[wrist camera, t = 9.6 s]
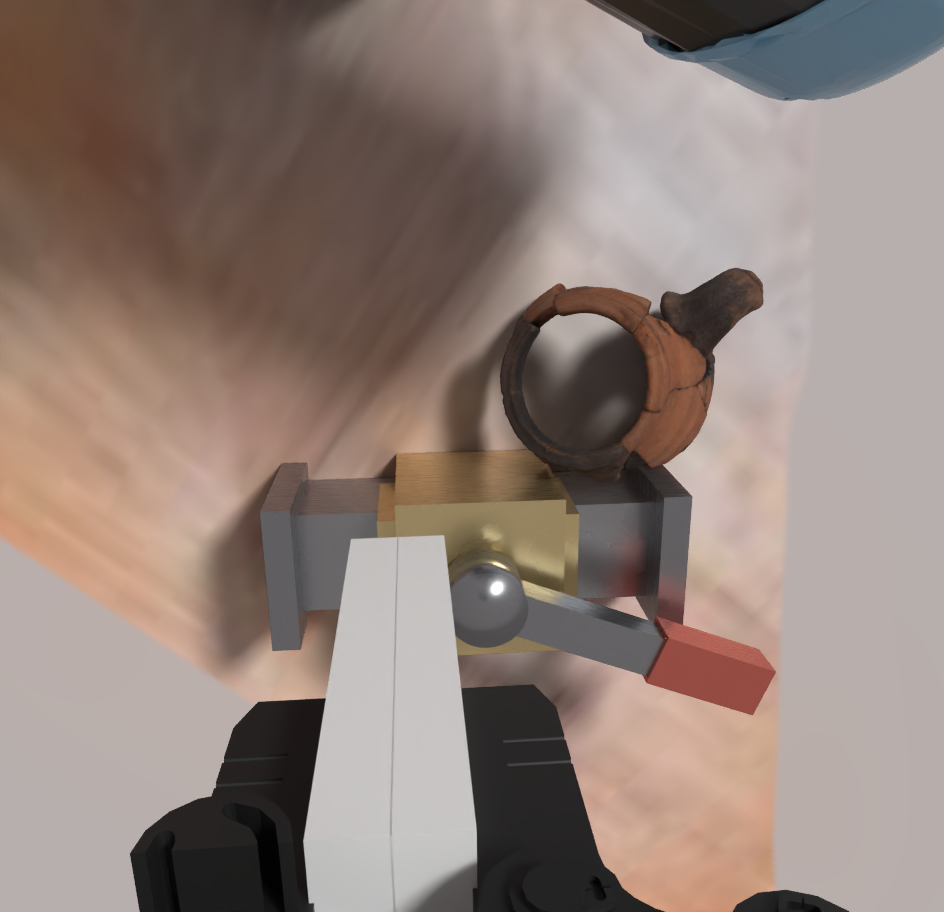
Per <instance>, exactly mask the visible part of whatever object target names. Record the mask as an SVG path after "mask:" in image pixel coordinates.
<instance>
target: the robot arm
mask: <svg viewBox="0 0 944 912" xmlns="http://www.w3.org/2000/svg"><path fill="white" fill-rule="evenodd" d="M585 1H587V2H589V3H591V4H592V5H594V6H596V7H598V8H599V9H601V10H603V11H605V12H606V13H608V14H610V15H612V16H613V17H615V18H617V19H619V20H620V21H622V22H624V23H626V24H628V25H629V26H631V27H633V28H635V29H636V30H638V31H640V32H642V35H643V39H644V42H645V43H646V44H647V45H648V46H650V47H651V48H653V49H654V50H656V51H657V52H659V53H660V54H662V55H664V56H666V57H668V58H671V59H675V60H682V61H687V62H693V63H698V64H700V65H702V66H704V67H706V68H708V69H710V70H712V71H714V72H716V73H718V74H720V75H722V76H724V77H726V78H728V79H730V80H732V81H734V82H736V83H738V84H740V85H742V86H744V87H746V88H748V89H750V90H752V91H754V92H756V93H759V94H761V95H763V96H766V97H769V98H773V99H778V100H783V101H792V100H797V99H805V100H816V99H831V98H837V97H841V96H844V95H847V94H851V93H853V92H857V91H859V90H862V89H865V88H867V87H870V86H872V85H875V84H877V83H879V82H882V81H884V80H886V79H888V78H890V77H893V76H894V75H896V74H898V73H901V72H903V71H904V70H906V69H908V68H910V67H912V66H913V65H915V64H917V63H919V62H921V61H922V60H924V59H926V58H927V57H929V56H930V55H932V54H934V53H935V52H937V51H938V50H940V49H941V48H943V47H944V0H585ZM130 856H131V862H132V868H133V874H134V880H135V886H136V892H137V898H138V904H139V910H140V912H664V911H661V910H658V909H655V908H653V907H651V906H649V905H647V904H646V903H644V902H642V901H640V900H638V899H636V898H634V897H633V896H632V895H631V894H629V893H628V892H627V891H626V890H624V889H623V888H622V886H621V885H620V883H619V881H618V879H617V878H616V876H615V874H613V873H612V872H611V871H610V870H608V869H607V868H606V867H605V866H604V864H603V862H602V860H601V858H600V856H599V853H598V850H597V847H596V843H595V840H594V836H593V833H592V829H591V826H590V822H589V819H588V816H587V812H586V809H585V805H584V802H583V798H582V795H581V791H580V788H579V784H578V781H577V778H576V774H575V771H574V767H573V764H571V757H570V753H569V750H568V747H567V743H566V740H564V733H563V729H562V726H561V722H560V719H559V716H558V712H557V709H556V707H555V706H554V705H553V704H552V703H551V702H550V701H549V700H548V699H547V698H546V697H545V696H544V695H543V694H542V693H541V692H540V691H539V690H538V689H537V688H536V687H535V686H534V685H516V686H497V687H478V688H461V683H460V674H459V665H458V656H457V647H456V638H455V629H454V620H453V611H452V602H451V593H450V584H449V575H448V566H447V557H446V548H445V539H444V535H439V536H414V537H389V538H365V539H351V542H350V549H349V555H348V561H347V568H346V574H345V580H344V587H343V593H342V599H341V606H340V612H339V618H338V625H337V631H336V638H335V644H334V650H333V657H332V663H331V669H330V676H329V682H328V688H327V695H326V698H323V699H305V700H286V701H267V702H258V703H257V704H256V705H255V706H254V707H253V708H252V709H251V710H250V711H249V712H248V713H247V714H246V715H245V716H244V717H243V718H242V719H241V721H240V722H239V723H238V724H237V725H236V726H235V727H234V728H233V731H232V734H231V738H230V741H229V744H228V747H227V750H226V753H225V756H224V763H222V765H221V768H220V772H219V775H218V778H217V781H216V788H214V790H213V793H212V796H211V797H206V798H201V799H197V800H195V801H192V802H190V803H188V804H186V805H184V806H181V807H179V808H177V809H174V810H172V811H170V812H169V813H167V814H166V815H165V816H163V817H162V818H161V819H160V820H158V821H157V822H156V823H154V824H153V825H152V826H151V827H150V828H148V829H147V830H146V831H145V832H144V833H143V835H142V837H141V838H140V839H139V841H138V843H137V844H136V845H135V847H134V849H133V850H132V851H131V853H130ZM733 912H849V911H847V910H845V909H843V908H841V907H839V906H837V905H835V904H832V903H831V902H829V901H826V900H824V899H822V898H820V897H818V896H814V895H809V894H804V893H799V892H794V891H789V890H780V891H771V892H761V893H757V894H755V895H753V896H752V897H750V898H748V899H746V900H744V901H743V902H741V903H739V904H737V905H736V907H735V909H734V910H733Z"/></svg>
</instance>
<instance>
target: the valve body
mask: <svg viewBox="0 0 944 912" xmlns="http://www.w3.org/2000/svg"><path fill="white" fill-rule="evenodd" d="M620 475H621V477H620V478H619V479H618V480H617V481H614V482H602V483H598V482H595V481H593V480H592V479H591V478H588V477H582V476H579V475H577V474H576V473H574V472H552V471H551V469H550V467H549V466H548V464H544V463H543V462H542V461H541V460H540V459H539V458H538V457H536V456H535V454H534V453H533V452H532V451H531V450H506V451H474V452H443V453H411V454H397V455H396V478H366V479H336V480H308V469H307V463H284V464H281V466H280V469H279V471H278V473H277V475H276V477H275V480H274V482H273V484H272V486H271V488H270V491H269V493H268V495H267V497H266V499H265V502H264V504H263V506H262V508H261V510H260V521H261V532H262V542H263V553H264V564H265V575H266V586H267V596H268V607H269V618H270V629H271V640H272V650H273V651H281V650H301V646H302V642H303V638H304V633H305V629H306V624H307V620H308V616H309V611H314V610H337V609H340V606H341V599H342V593H343V587H344V580H345V574H346V568H347V561H348V555H349V549H350V542H351V539H365V538H389V537H414V536H439V535H444V539H445V548H446V557H447V566H448V568H449V566H450V565H451V564H452V563H453V561H454V560H455V559H457V558H458V557H459V556H461V555H462V554H464V553H466V552H468V551H471V550H475V549H492V550H496V551H499V552H501V553H503V554H505V555H506V556H508V557H509V558H510V559H511V560H512V561H513V562H514V564H515V565H516V567H517V569H518V571H519V574H520V578H521V580H523V581H526V582H529V583H532V584H535V585H539V586H542V587H545V588H548V589H551V590H554V591H557V592H561V593H564V594H567V595H570V596H573V597H576V598H579V599H585V598H608V597H631V596H635V597H636V599H637V600H638V602H639V604H640V606H641V607H642V609H643V611H644V613H645V615H646V616H647V618H648V620H649V621H652V622H654V620H655V618H656V617H659V618H662V619H666V620H669V621H672V622H675V623H678V624H681V625H683V615H684V601H685V588H686V575H687V561H688V548H689V534H690V521H691V508H692V496H691V495H690V494H689V493H688V491H687V490H686V489H685V488H684V487H683V486H682V485H681V484H680V483H679V482H678V481H677V480H676V479H675V478H674V477H673V475H672V474H671V473H670V472H669V471H668V470H667V469H666V468H665V467H664V466H663V465H659V466H656V467H654V468H651V467H649V466H648V464H646V463H645V462H644V460H643V459H641V458H640V457H639V456H638V455H637V454H636V452H631V454H630V455H629V457H628V458H627V460H626V469H625V470H621V472H620ZM455 638H456V647H457V655H478V654H498V653H519V652H539V651H560V650H559V649H556V648H553V647H550V646H546V645H543V644H540V643H536V642H533V641H530V640H527V639H523V638H520V637H517V636H516V637H514V638H513V639H512V640H510V641H509V642H507V643H505V644H503V645H500V646H496V647H491V648H480V647H475V646H471V645H469V644H467V643H465V642H463V641H462V640H460V639H459V638H458V637H457V636H456V635H455Z"/></svg>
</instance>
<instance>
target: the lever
mask: <svg viewBox="0 0 944 912" xmlns="http://www.w3.org/2000/svg"><path fill="white" fill-rule="evenodd" d="M448 575H449V584H450V593H451V602H452V611H453V620H454V629H455V635H456V636H457V637H458V638H459V639H460V640H462V641H463V642H465V643H467V644H469V645H471V646H475V647H480V648H491V647H496V646H500V645H503V644H505V643H507V642H509V641H510V640H512V639H513V638H514V637H516V636H517V637H520V638H523V639H527V640H530V641H533V642H536V643H540V644H543V645H546V646H550V647H553V648H556V649H559V650H563V651H566V652H569V653H572V654H576V655H579V656H582V657H586V658H589V659H592V660H595V661H599V662H602V663H605V664H608V665H612V666H615V667H618V668H622V669H625V670H628V671H631V672H635V673H638V674H641V675H643V677H644V679H645V681H646V683H648V684H651V685H655V686H658V687H661V688H664V689H668V690H671V691H674V692H678V693H681V694H684V695H687V696H691V697H694V698H697V699H701V700H704V701H707V702H711V703H714V704H717V705H720V706H724V707H727V708H730V709H734V710H737V711H740V712H743V713H747V714H750V715H753V714H754V712H755V710H756V708H757V706H758V704H759V703H760V701H761V699H762V697H763V695H764V693H765V691H766V690H767V688H768V686H769V684H770V682H771V680H772V678H773V677H774V675H775V673H776V671H775V670H774V669H773V667H772V666H771V665H770V663H769V662H768V661H767V659H766V658H765V657H764V656H763V654H762V653H761V652H760V650H759V649H756V648H753V647H750V646H747V645H744V644H741V643H737V642H734V641H731V640H728V639H725V638H722V637H719V636H716V635H712V634H709V633H706V632H703V631H700V630H697V629H694V628H691V627H687V626H684V625H681V624H678V623H675V622H672V621H669V620H666V619H662V618H659V617H656V618H655V620H654V622H652V621H648V620H645V619H642V618H639V617H636V616H633V615H630V614H626V613H623V612H620V611H617V610H614V609H611V608H608V607H604V606H601V605H598V604H595V603H592V602H589V601H586V600H583V599H579V598H576V597H573V596H570V595H567V594H564V593H561V592H557V591H554V590H551V589H548V588H545V587H542V586H539V585H535V584H532V583H529V582H526V581H523V580H521V578H520V574H519V571H518V569H517V567H516V565H515V564H514V562H513V561H512V560H511V559H510V558H509V557H508V556H506V555H505V554H503V553H501V552H499V551H496V550H492V549H475V550H471V551H468V552H466V553H464V554H462V555H461V556H459V557H458V558H457V559H455V560H454V561H453V563H452V564H451V565H450V566H449V568H448Z"/></svg>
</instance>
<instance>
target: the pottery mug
mask: <svg viewBox="0 0 944 912" xmlns="http://www.w3.org/2000/svg"><path fill="white" fill-rule="evenodd" d="M565 289H566V288H565V286H564V285H563V284H557V285H555V286H554V287H552V288H551V289H549V290H548V291H547V292H545V293H544V294H543V295H541V296H540V297H539V298H538V299H537V300H535V301H534V302H533V303H532V304H531V306H530V307H529V308H528V309H527V311H526V313H525V315H524V316H522V317H521V318H520V319H519V320H518V322H517V324H516V326H515V329H514V332H513V334H512V337H511V339H510V341H509V343H508V346H507V349H506V352H505V355H504V358H503V361H502V366H501V373H500V379H501V380H500V384H501V393H502V395H503V405H504V408H505V414H506V416H507V418H508V420H509V422H510V424H511V426H512V428H513V430H514V432H515V434H516V435H517V437H518V438H519V439H520V440H521V441H522V442H523V444H524V445H525V446H526V447H527V448H528V449H529V450H531V451H532V452H533V453H534V454H535V456H536V457H538V458H539V459H540V460H541V461H542V462H543V463H544V464H547V463H553V464H556V465H558V466H562V467H564V468H566V469H570V470H571V471H573V472H574V473H576V474H577V475H579V476H582V477H588V478H591V479H592V480H593V481H595V482H598V483H602V482H614V481H617V480H618V479H619V478H620V477H621V475H620V472H621V470H622V468H623V465H624V463H625V462H626V460H627V458H628V457H629V455H630V454H631V452H632V451H634V452H636V454H637V455H638V456H639V457H640V458H641V459H643V460H644V462H645V463H646V464H648V466H649V467H651V468H654V467H656V466H659V465H662V464H666V463H667V462H669V461H670V460H671V459H673V458H674V457H675V456H677V455H678V454H679V453H681V452H683V451H684V450H685V449H686V448H687V447H688V446H689V445H690V444H691V443H692V441H693V440H694V439H695V437H696V436H697V434H698V433H699V431H700V429H701V427H702V425H703V423H704V420H705V418H706V416H707V410H708V407H709V404H710V400H711V396H712V390H713V384H714V363H715V357H714V355H713V354H712V352H713V349H714V347H715V346H716V345H717V344H718V343H719V341H720V340H721V339H722V338H723V337H724V336H725V335H726V334H727V333H728V332H729V331H730V330H731V329H732V328H733V327H734V326H735V324H736V323H737V322H738V321H739V320H740V319H741V318H743V317H744V316H746V315H747V314H749V313H750V312H752V311H754V310H756V309H759V308H760V307H761V306H762V305H763V284H762V282H761V281H760V279H759V278H758V277H757V276H756V275H755V274H754V273H753V272H752V271H749V270H744V269H739V268H732V269H729V270H727V271H725V272H722V273H721V274H719V275H717V276H716V277H714V278H713V279H711V280H709V281H708V282H706V283H704V284H702V285H700V286H699V287H697V288H696V289H694V290H692V291H691V292H689V293H686V294H682V295H681V294H678V293H674V292H669V291H668V292H665V293H664V294H663V296H662V298H661V303H660V309H661V314H662V316H663V318H664V319H665V321H666V322H664V321H663V320H661V319H656V318H654V317H652V316H651V315H649V309H650V306H651V301H649V300H648V299H646V298H643V297H640V296H637V295H635V294H631V293H627V292H623V291H621V290H617V289H612V288H601V287H588V286H585V287H576V288H571V289H567V290H565ZM577 313H592V314H597V315H601V316H604V317H606V318H609V319H611V320H613V321H615V322H616V323H618V324H619V325H621V326H622V327H623V328H624V329H625V330H626V331H628V332H629V333H630V334H632V336H633V338H634V339H635V341H636V342H637V344H638V346H639V347H640V350H641V352H642V354H643V357H644V360H645V364H646V370H647V379H648V381H647V394H646V398H645V402H644V405H643V408H642V410H641V412H640V414H639V416H638V418H637V420H636V421H635V423H634V424H633V426H632V427H631V428H630V429H629V430H628V431H627V432H626V433H625V434H624V435H623V436H622V437H621V438H620V439H619V440H618V441H616V442H614V443H613V444H611V445H608V446H606V447H604V448H600V449H596V450H588V451H586V450H573V449H568V448H565V447H562V446H559V445H558V444H556V443H555V442H553V441H552V440H550V439H549V438H548V437H547V436H545V435H544V434H543V433H542V432H541V431H540V430H539V429H538V427H537V426H536V425H535V424H534V422H533V420H532V419H531V417H530V415H529V413H528V410H527V408H526V406H525V402H524V397H523V392H522V374H523V366H524V362H525V359H526V356H527V354H528V352H529V349H530V347H531V345H532V343H533V341H534V340H535V338H536V337H537V336H538V334H539V332H540V327H541V326H543V325H544V324H545V323H546V322H548V321H549V320H550V319H551V318H553V317H554V316H556V315H558V314H559V315H560V316H567V315H572V314H577Z"/></svg>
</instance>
